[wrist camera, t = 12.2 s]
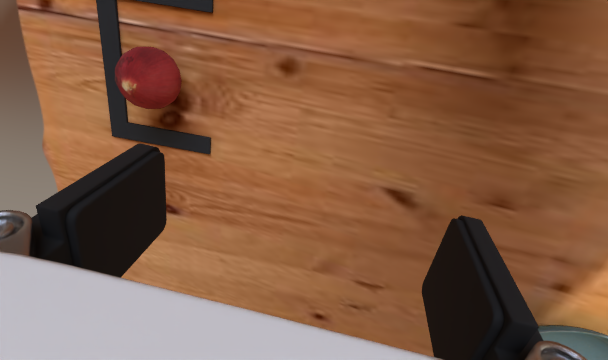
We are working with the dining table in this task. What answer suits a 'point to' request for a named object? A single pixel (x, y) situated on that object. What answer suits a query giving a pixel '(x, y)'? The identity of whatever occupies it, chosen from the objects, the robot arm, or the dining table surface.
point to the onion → (148, 77)
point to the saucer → (578, 340)
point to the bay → (116, 100)
